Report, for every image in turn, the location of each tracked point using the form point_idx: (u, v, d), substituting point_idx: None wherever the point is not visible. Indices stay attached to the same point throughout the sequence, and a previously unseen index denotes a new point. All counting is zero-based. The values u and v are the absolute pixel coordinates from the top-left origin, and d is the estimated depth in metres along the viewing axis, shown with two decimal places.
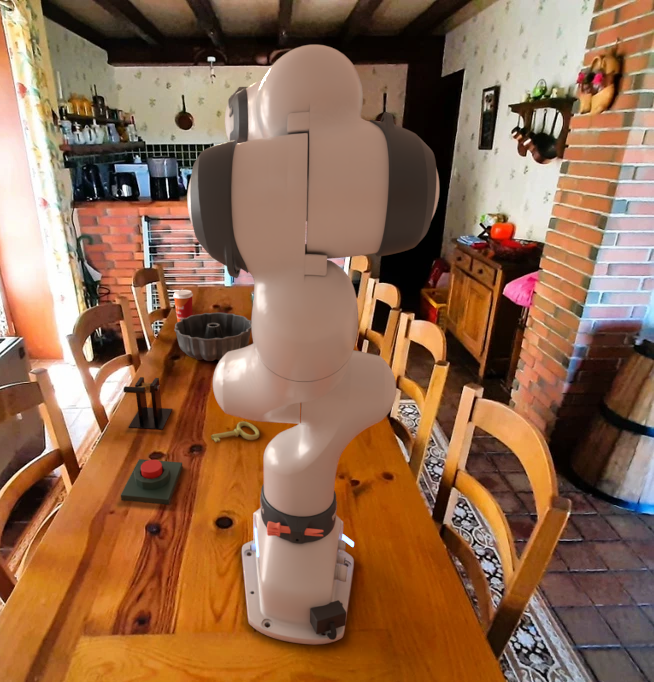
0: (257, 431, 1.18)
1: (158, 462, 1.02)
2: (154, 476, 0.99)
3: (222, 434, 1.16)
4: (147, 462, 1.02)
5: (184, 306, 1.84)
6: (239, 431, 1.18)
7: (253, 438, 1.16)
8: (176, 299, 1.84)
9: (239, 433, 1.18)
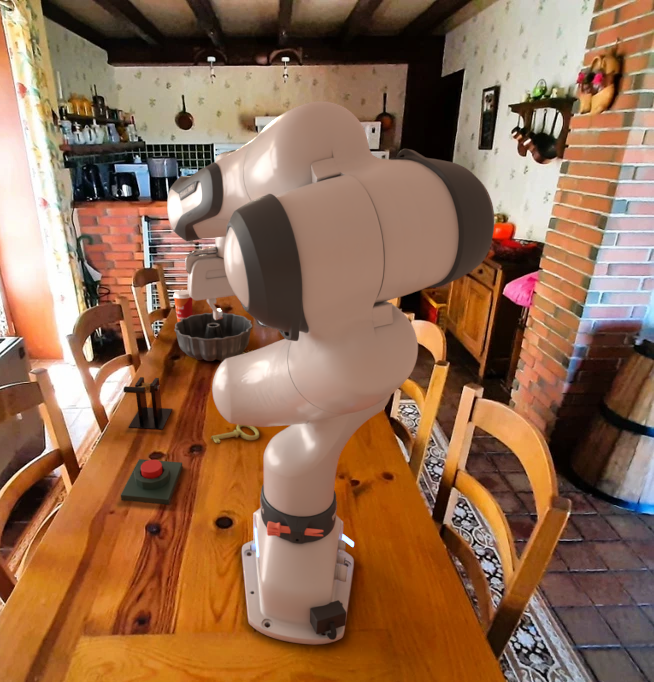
0: (257, 432, 1.18)
1: (158, 462, 1.02)
2: (154, 476, 0.99)
3: (222, 435, 1.16)
4: (147, 462, 1.02)
5: (184, 306, 1.84)
6: (239, 432, 1.18)
7: (253, 439, 1.16)
8: (176, 299, 1.84)
9: (239, 434, 1.18)
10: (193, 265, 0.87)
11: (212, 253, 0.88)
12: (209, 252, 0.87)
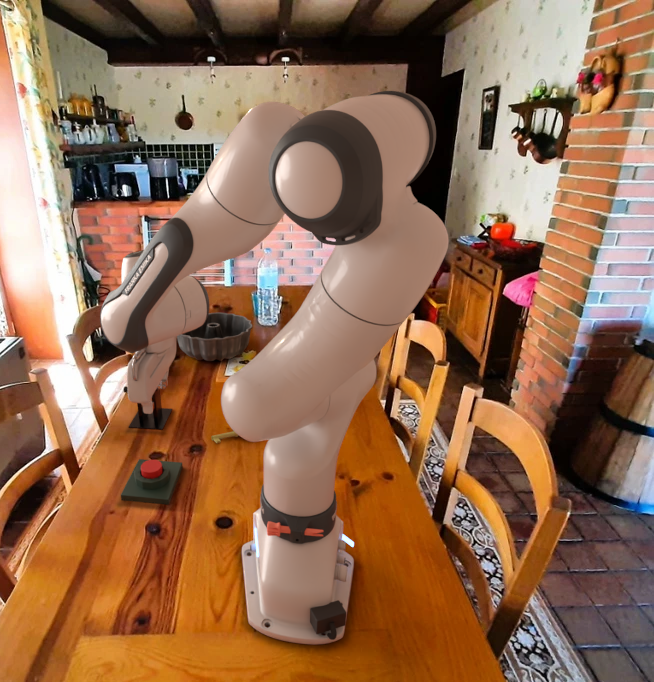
0: None
1: (158, 462, 1.02)
2: (154, 476, 0.99)
3: (222, 435, 1.16)
4: (147, 462, 1.02)
5: None
6: None
7: None
8: None
9: None
10: (141, 370, 0.83)
11: (144, 352, 0.86)
12: (143, 352, 0.85)
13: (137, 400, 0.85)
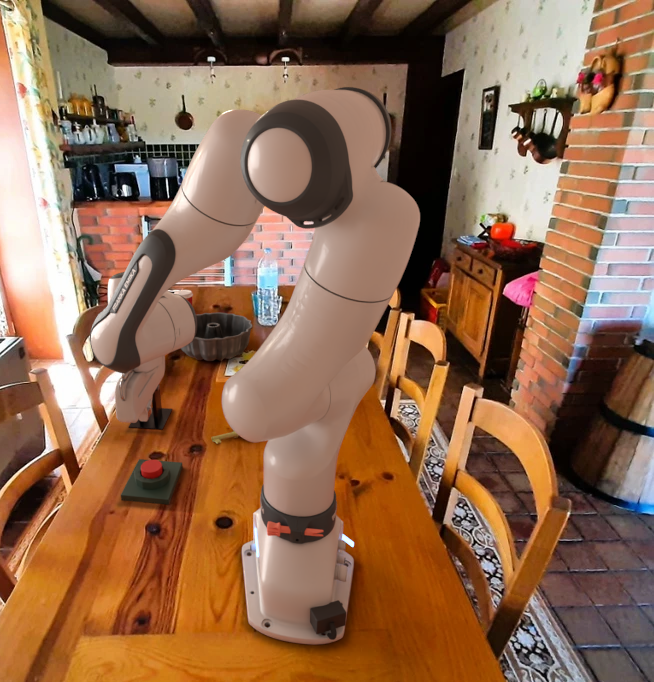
0: None
1: (158, 462, 1.02)
2: (154, 476, 0.99)
3: (222, 436, 1.16)
4: (147, 462, 1.02)
5: None
6: None
7: None
8: None
9: None
10: (129, 390, 0.83)
11: (132, 371, 0.86)
12: (131, 371, 0.86)
13: (125, 420, 0.85)
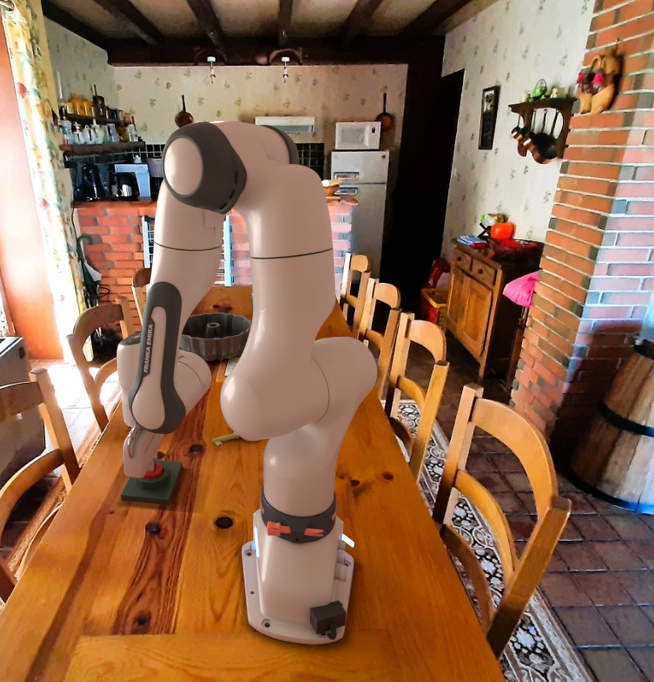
0: None
1: (158, 465, 1.02)
2: None
3: (223, 437, 1.15)
4: None
5: None
6: None
7: None
8: None
9: None
10: (137, 448, 0.88)
11: (139, 429, 0.91)
12: (138, 429, 0.91)
13: (133, 475, 0.90)
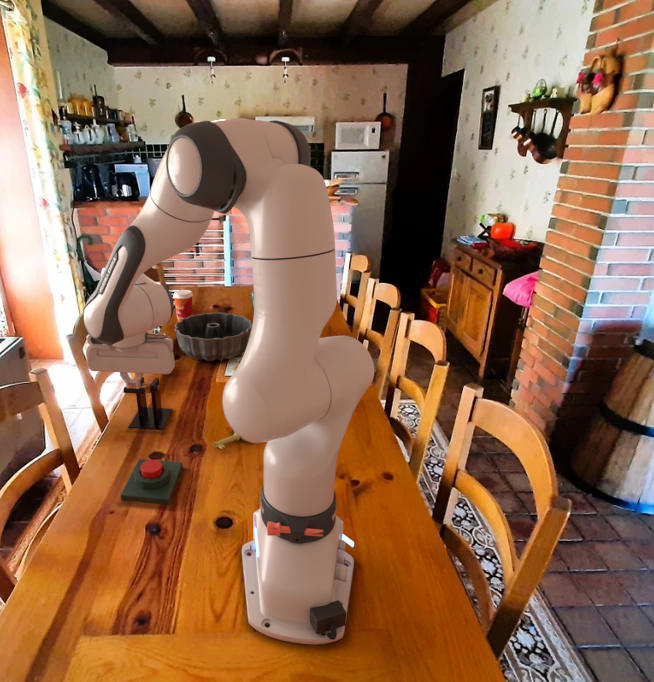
0: None
1: (158, 462, 1.02)
2: (154, 476, 0.99)
3: (225, 440, 1.14)
4: (147, 462, 1.02)
5: (184, 306, 1.84)
6: None
7: None
8: (176, 299, 1.84)
9: (239, 437, 1.16)
10: None
11: None
12: None
13: (173, 367, 1.09)
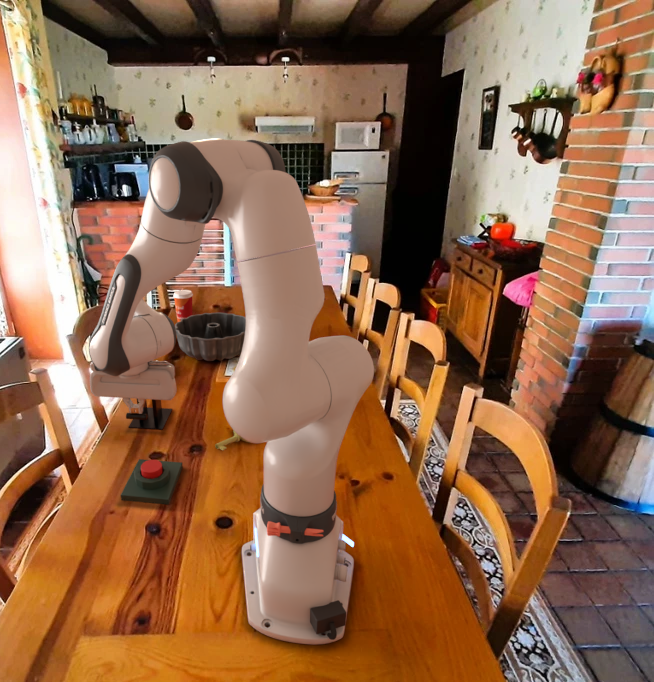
0: None
1: (158, 462, 1.02)
2: (154, 476, 0.99)
3: (225, 441, 1.13)
4: (147, 462, 1.02)
5: (184, 306, 1.84)
6: None
7: None
8: (176, 299, 1.84)
9: (240, 437, 1.16)
10: None
11: None
12: None
13: (175, 393, 1.11)
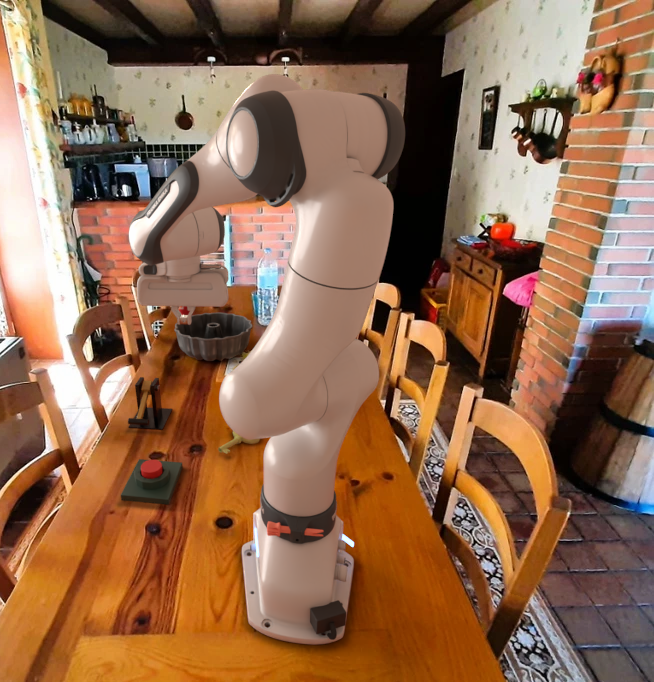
0: None
1: (158, 462, 1.02)
2: (154, 476, 0.99)
3: (228, 444, 1.12)
4: (147, 462, 1.02)
5: (184, 306, 1.84)
6: (240, 437, 1.15)
7: (257, 441, 1.15)
8: None
9: (241, 439, 1.15)
10: None
11: None
12: None
13: (227, 300, 1.05)
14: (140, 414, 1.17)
